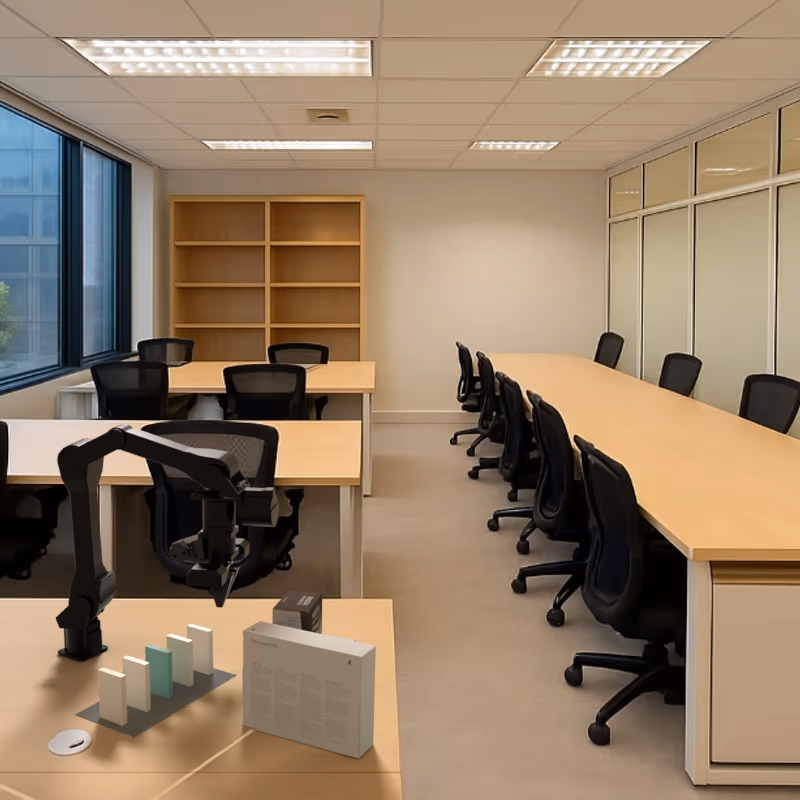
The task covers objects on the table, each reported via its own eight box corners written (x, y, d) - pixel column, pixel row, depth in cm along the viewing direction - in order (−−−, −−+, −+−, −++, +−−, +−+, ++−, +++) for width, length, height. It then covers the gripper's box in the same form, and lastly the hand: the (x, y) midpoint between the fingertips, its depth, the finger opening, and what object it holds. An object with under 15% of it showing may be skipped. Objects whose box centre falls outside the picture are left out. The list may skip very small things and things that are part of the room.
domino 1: (99, 717, 141) (98, 669, 139) (104, 714, 142) (103, 667, 140) (122, 725, 138) (121, 677, 137) (127, 723, 139) (125, 675, 138)
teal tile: (146, 691, 149) (145, 646, 148) (150, 688, 150) (149, 644, 149) (168, 698, 147) (167, 653, 146) (172, 696, 148) (171, 651, 146)
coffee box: (308, 704, 147) (308, 612, 144) (270, 700, 148) (270, 608, 145) (323, 679, 156) (323, 591, 153) (288, 675, 157) (288, 588, 154)
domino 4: (187, 668, 158) (186, 625, 157) (191, 666, 159) (190, 623, 157) (209, 675, 155) (208, 631, 154) (213, 672, 156) (212, 629, 155)
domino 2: (123, 703, 145) (122, 657, 144) (128, 701, 146) (126, 655, 145) (146, 712, 143) (144, 665, 141) (150, 709, 143) (149, 662, 142)
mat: (74, 716, 141) (74, 714, 141) (180, 659, 162) (180, 657, 162) (134, 739, 135) (134, 737, 135) (236, 677, 156) (236, 675, 156)
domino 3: (167, 679, 154) (166, 635, 152) (171, 677, 154) (170, 633, 153) (189, 686, 151) (188, 642, 150) (193, 684, 152) (192, 640, 151)
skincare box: (376, 743, 136) (377, 644, 133) (359, 760, 131) (361, 659, 128) (260, 711, 144) (259, 618, 142) (240, 726, 140) (239, 631, 137)
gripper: (192, 506, 168) (193, 585, 170) (155, 536, 149) (157, 624, 152) (250, 509, 167) (250, 589, 169) (220, 540, 148) (221, 629, 151)
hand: (219, 606), depth 160 cm, fingers closed
